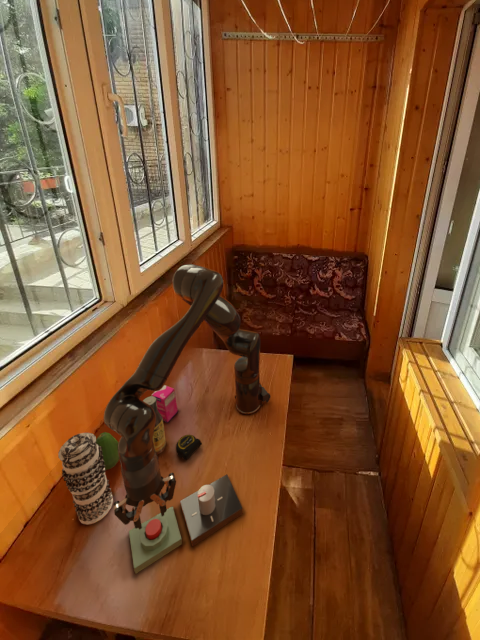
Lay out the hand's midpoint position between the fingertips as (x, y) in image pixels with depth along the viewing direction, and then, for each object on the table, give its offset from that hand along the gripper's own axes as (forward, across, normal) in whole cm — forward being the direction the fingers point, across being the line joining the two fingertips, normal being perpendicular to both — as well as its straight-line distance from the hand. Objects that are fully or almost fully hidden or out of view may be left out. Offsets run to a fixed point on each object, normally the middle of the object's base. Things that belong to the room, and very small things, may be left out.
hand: (151, 518), depth 77 cm
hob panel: (+9, +14, -1) cm, 17 cm away
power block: (+9, 0, 0) cm, 9 cm away
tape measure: (+9, +14, +20) cm, 26 cm away
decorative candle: (+9, -12, +17) cm, 23 cm away
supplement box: (+9, +12, +39) cm, 42 cm away
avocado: (+9, -8, +29) cm, 31 cm away
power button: (+5, 0, 0) cm, 5 cm away
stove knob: (+6, +14, -1) cm, 15 cm away
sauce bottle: (+9, +6, +27) cm, 29 cm away
